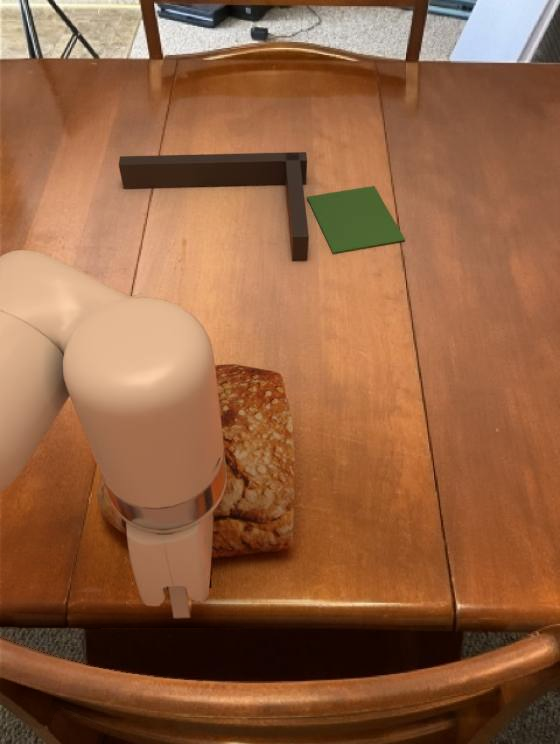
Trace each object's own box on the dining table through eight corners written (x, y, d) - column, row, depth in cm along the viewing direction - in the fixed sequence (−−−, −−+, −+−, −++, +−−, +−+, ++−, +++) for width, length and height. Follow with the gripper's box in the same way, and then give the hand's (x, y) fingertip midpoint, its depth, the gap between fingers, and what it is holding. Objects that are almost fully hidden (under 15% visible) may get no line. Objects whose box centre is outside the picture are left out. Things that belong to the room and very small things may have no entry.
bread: (294, 564, 62) (297, 513, 54) (94, 566, 62) (68, 516, 54) (289, 385, 75) (291, 324, 67) (122, 387, 74) (105, 325, 67)
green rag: (332, 254, 88) (332, 252, 88) (306, 198, 95) (306, 196, 95) (404, 241, 90) (405, 239, 89) (374, 187, 97) (374, 185, 97)
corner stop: (111, 266, 86) (105, 242, 83) (124, 180, 98) (119, 156, 94) (315, 260, 87) (316, 236, 84) (305, 176, 98) (306, 151, 95)
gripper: (117, 376, 47) (154, 501, 61) (89, 587, 38) (140, 676, 52) (226, 372, 47) (237, 498, 62) (225, 582, 38) (238, 672, 52)
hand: (192, 579), depth 57 cm, fingers closed
